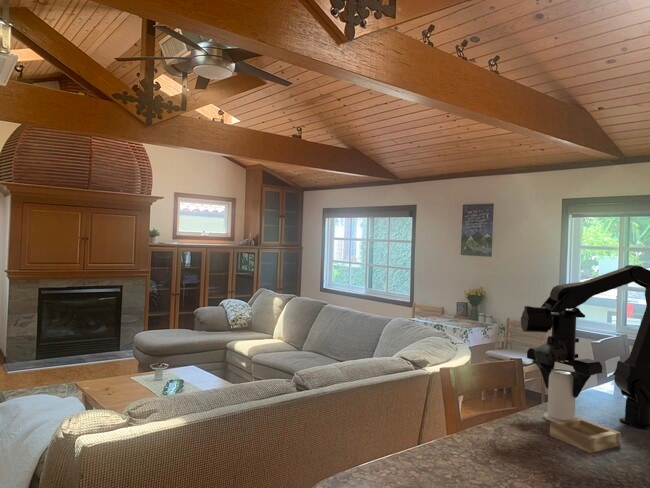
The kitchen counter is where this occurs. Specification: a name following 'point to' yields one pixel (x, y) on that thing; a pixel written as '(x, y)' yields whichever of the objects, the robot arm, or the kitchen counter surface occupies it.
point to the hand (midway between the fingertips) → (561, 392)
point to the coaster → (550, 418)
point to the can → (561, 395)
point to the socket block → (592, 441)
